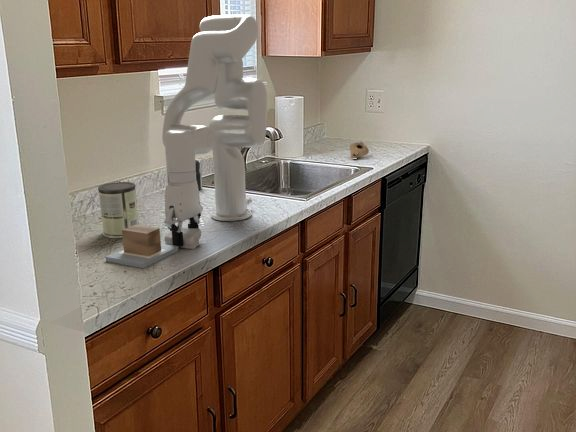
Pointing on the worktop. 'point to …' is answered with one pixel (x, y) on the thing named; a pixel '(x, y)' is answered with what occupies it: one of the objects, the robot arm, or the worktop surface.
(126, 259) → the board
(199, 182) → the battery charger
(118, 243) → the worktop surface
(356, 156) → the pottery oil lamp
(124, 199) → the coffee can
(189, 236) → the rough stone chunk
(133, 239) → the walnut block
